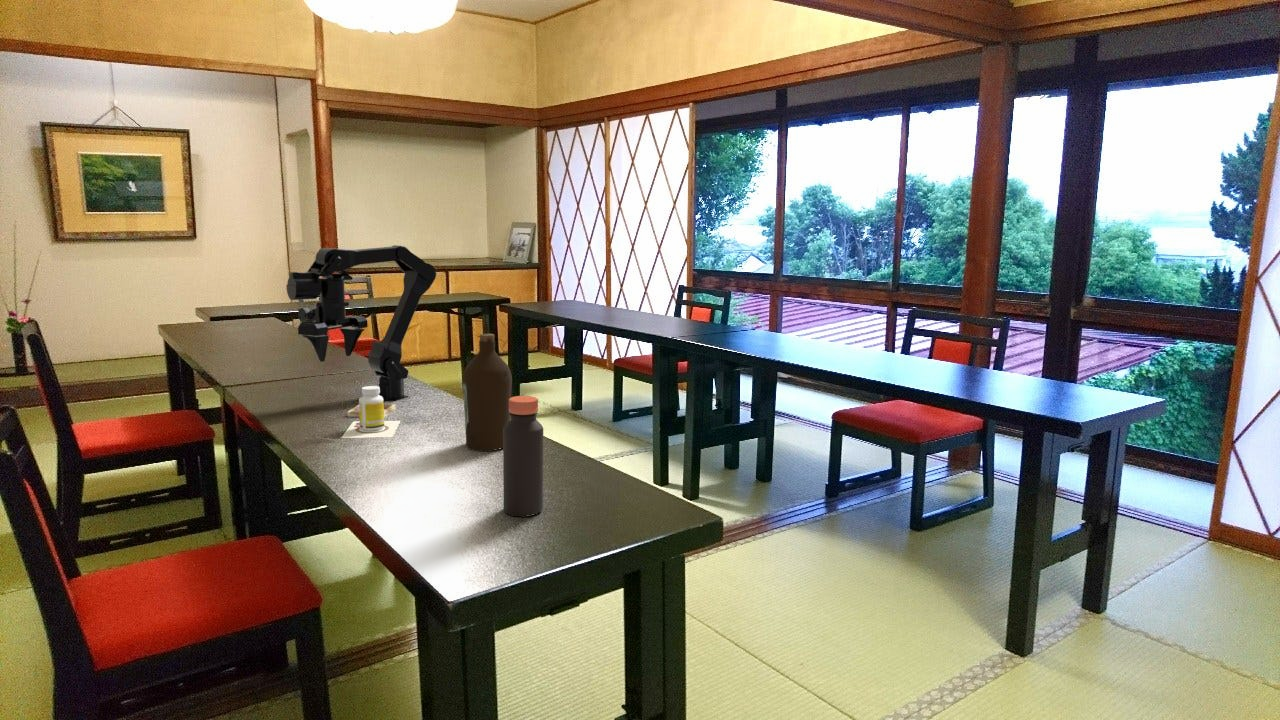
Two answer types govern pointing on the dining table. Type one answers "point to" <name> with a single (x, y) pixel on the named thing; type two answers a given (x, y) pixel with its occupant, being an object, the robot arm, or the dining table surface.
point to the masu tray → (387, 410)
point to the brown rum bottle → (486, 397)
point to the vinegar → (523, 458)
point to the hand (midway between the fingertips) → (335, 358)
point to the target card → (356, 432)
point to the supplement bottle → (371, 409)
